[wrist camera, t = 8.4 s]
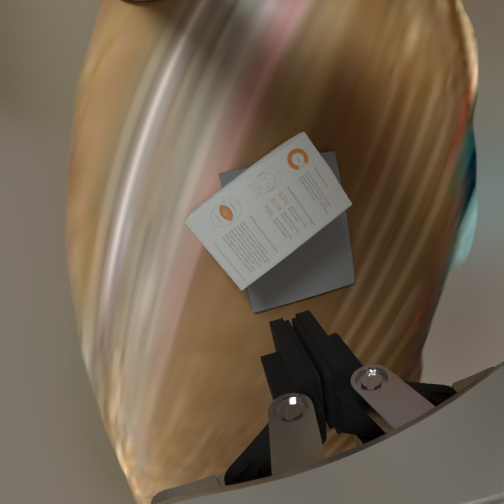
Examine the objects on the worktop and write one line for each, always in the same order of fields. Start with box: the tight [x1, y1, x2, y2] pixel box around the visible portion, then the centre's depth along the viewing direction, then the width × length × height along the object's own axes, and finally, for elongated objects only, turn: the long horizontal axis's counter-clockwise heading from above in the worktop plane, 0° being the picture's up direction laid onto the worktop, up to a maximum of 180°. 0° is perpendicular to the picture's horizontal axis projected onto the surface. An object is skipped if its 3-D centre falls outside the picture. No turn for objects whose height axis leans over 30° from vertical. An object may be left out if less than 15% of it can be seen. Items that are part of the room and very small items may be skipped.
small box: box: [185, 132, 352, 290], centre depth 28 cm, size 8×6×13 cm
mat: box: [219, 151, 355, 313], centre depth 32 cm, size 16×13×1 cm
